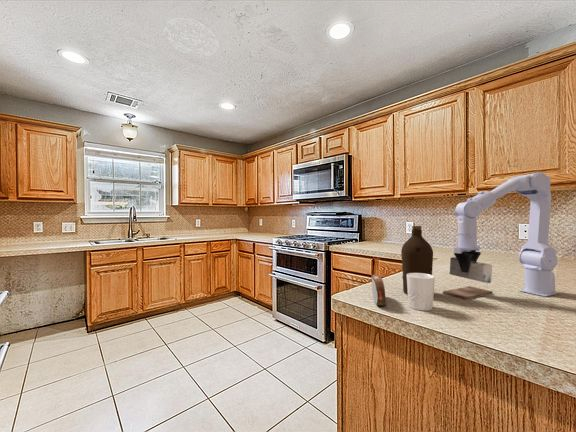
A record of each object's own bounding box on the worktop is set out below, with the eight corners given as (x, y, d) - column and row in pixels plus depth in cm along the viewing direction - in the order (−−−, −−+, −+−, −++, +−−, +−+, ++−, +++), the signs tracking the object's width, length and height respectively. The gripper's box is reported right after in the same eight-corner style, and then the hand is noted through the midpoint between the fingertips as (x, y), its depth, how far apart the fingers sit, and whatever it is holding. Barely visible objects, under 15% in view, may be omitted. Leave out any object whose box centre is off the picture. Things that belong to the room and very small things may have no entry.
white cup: (432, 304, 86) (431, 273, 86) (437, 312, 78) (436, 279, 78) (405, 302, 88) (405, 272, 88) (408, 310, 81) (407, 277, 81)
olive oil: (440, 296, 94) (439, 226, 94) (413, 298, 92) (412, 226, 92) (420, 288, 104) (420, 225, 104) (395, 290, 102) (395, 225, 103)
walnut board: (469, 288, 104) (469, 286, 104) (492, 293, 97) (492, 291, 97) (442, 293, 97) (442, 291, 97) (465, 299, 90) (465, 297, 90)
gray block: (454, 273, 103) (455, 256, 102) (493, 282, 92) (494, 263, 91) (449, 274, 101) (450, 257, 101) (488, 283, 90) (489, 264, 90)
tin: (386, 309, 81) (386, 282, 81) (375, 309, 82) (375, 281, 82) (379, 295, 96) (379, 272, 96) (370, 294, 97) (370, 271, 97)
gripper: (469, 236, 90) (469, 275, 90) (489, 234, 97) (489, 271, 97) (447, 234, 96) (448, 272, 96) (468, 233, 104) (468, 268, 103)
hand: (467, 271), depth 97 cm, fingers closed on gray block, 3 cm apart
